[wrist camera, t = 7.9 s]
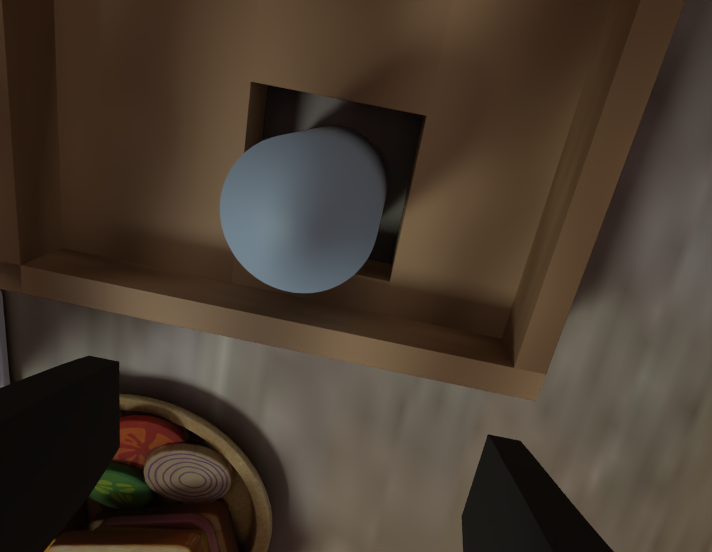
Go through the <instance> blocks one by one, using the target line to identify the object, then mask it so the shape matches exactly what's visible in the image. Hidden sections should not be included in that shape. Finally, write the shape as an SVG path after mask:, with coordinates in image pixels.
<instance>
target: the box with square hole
mask: <svg viewBox="0 0 712 552" xmlns="http://www.w3.org/2000/svg"><path fill="white" fill-rule="evenodd" d="M684 3H685V0H0V289H2V290H7V291H12V292H17V293H22V294H26V295H31V296H36V297H41V298H45V299H50V300H55V301H60V302H65V303H69V304H74V305H79V306H84V307H88V308H93V309H98V310H103V311H107V312H112V313H117V314H122V315H127V316H131V317H136V318H141V319H146V320H150V321H155V322H160V323H165V324H169V325H174V326H179V327H184V328H189V329H193V330H198V331H203V332H208V333H212V334H217V335H222V336H227V337H232V338H236V339H241V340H246V341H251V342H255V343H260V344H265V345H270V346H274V347H279V348H284V349H289V350H294V351H298V352H303V353H308V354H313V355H317V356H322V357H327V358H332V359H336V360H341V361H346V362H351V363H356V364H360V365H365V366H370V367H375V368H379V369H384V370H389V371H394V372H399V373H403V374H408V375H413V376H418V377H422V378H427V379H432V380H437V381H441V382H446V383H451V384H456V385H461V386H465V387H470V388H475V389H480V390H484V391H489V392H494V393H499V394H503V395H508V396H513V397H518V398H523V399H527V400H532V401H536V400H537V397H538V394H539V392H540V389H541V386H542V384H543V381H544V378H545V376H546V373H547V370H548V368H549V365H550V362H551V360H552V357H553V354H554V351H555V349H556V346H557V343H558V341H559V338H560V335H561V333H562V330H563V327H564V325H565V322H566V319H567V317H568V314H569V311H570V309H571V306H572V303H573V301H574V298H575V295H576V293H577V290H578V287H579V284H580V282H581V279H582V276H583V274H584V271H585V268H586V266H587V263H588V260H589V258H590V255H591V252H592V250H593V247H594V244H595V242H596V239H597V236H598V234H599V231H600V228H601V226H602V223H603V220H604V217H605V215H606V212H607V209H608V207H609V204H610V201H611V199H612V196H613V193H614V191H615V188H616V185H617V183H618V180H619V177H620V175H621V172H622V169H623V167H624V164H625V161H626V159H627V156H628V153H629V150H630V148H631V145H632V142H633V140H634V137H635V134H636V132H637V129H638V126H639V124H640V121H641V118H642V116H643V113H644V110H645V108H646V105H647V102H648V100H649V97H650V94H651V92H652V89H653V86H654V83H655V81H656V78H657V75H658V73H659V70H660V67H661V65H662V62H663V59H664V57H665V54H666V51H667V49H668V46H669V43H670V41H671V38H672V35H673V33H674V30H675V27H676V25H677V22H678V19H679V16H680V14H681V11H682V8H683V6H684ZM268 85H271V86H276V87H281V88H286V89H292V90H297V91H302V92H307V93H312V94H317V95H322V96H328V97H333V98H338V99H343V100H348V101H353V102H358V103H364V104H369V105H374V106H379V107H384V108H389V109H394V110H399V111H405V112H410V113H415V114H420V115H424V117H423V122H422V126H421V131H420V136H419V140H418V145H417V149H416V154H415V158H414V163H413V167H412V172H411V176H410V181H409V186H408V190H407V195H406V199H405V204H404V208H403V213H402V217H401V222H400V226H399V231H398V235H397V240H396V245H395V249H394V254H393V258H392V263H391V264H389V263H385V262H380V261H375V260H370V259H367V260H366V262H365V263H364V264H363V266H362V267H361V268H360V269H359V270H358V271H357V272H356V273H355V274H354V275H353V276H352V277H351V278H349V279H348V280H347V281H345V282H343V283H342V284H340V285H338V286H336V287H333V288H331V289H328V290H325V291H321V292H315V293H293V292H288V291H283V290H280V289H277V288H274V287H272V286H270V285H268V284H266V283H264V282H262V281H261V280H259V279H257V278H256V277H255V276H253V275H252V274H251V273H250V272H248V271H247V270H246V269H245V268H244V267H243V266H242V265H241V264H240V262H239V261H238V260H237V258H236V257H235V256H234V254H233V252H232V251H231V249H230V247H229V245H228V243H227V241H226V239H225V236H224V233H223V229H222V225H221V219H220V198H221V193H222V188H223V185H224V182H225V180H226V177H227V175H228V173H229V171H230V170H231V168H232V166H233V165H234V164H235V162H236V161H237V160H238V159H239V158H240V157H241V156H242V155H243V154H244V153H245V152H246V151H247V150H248V149H250V148H251V147H252V146H254V145H256V144H258V143H259V142H261V141H262V138H263V129H264V120H265V111H266V102H267V92H268Z"/></svg>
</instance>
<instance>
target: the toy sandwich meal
mask: <svg viewBox="0 0 712 552" xmlns="http://www.w3.org/2000/svg"><path fill="white" fill-rule="evenodd" d="M119 397H120V448H119V449H118V451H117V453H116V454H115V456H114V458H113V459H112V461H111V462H110V464H109V466H108V467H107V469H106V471H105V472H104V474H103V475H102V477H101V478H100V480H99V482H98V483H97V485H96V486H95V488H94V489H93V491H92V492H91V494H90V495H89V497H88V498H87V499H86V500H85V502H84V503H83V504H82V505H81V507H80V508H79V509H78V510H77V512H76V513H75V514H74V515H73V517H72V518H71V519H70V520H69V522H68V523H67V524H66V525H65V527H64V528H63V529H62V530H61V532H60V533H59V534H58V535H57V536H56V538H55V539H54V540H53V541H52V543H51V544H50V545H49V546H48V547H47V549H46V550H45V551H44V552H267V550H268V547H269V544H270V540H271V534H272V511H271V505H270V501H269V497H268V494H267V491H266V489H265V486H264V484H263V482H262V480H261V478H260V476H259V474H258V472H257V471H256V469H255V467H254V466H253V464H252V463H251V461H250V460H249V459H248V457H247V456H246V455H245V454H244V452H243V451H242V450H241V449H240V448H239V447H238V446H237V445H236V444H235V443H234V442H233V441H232V440H231V439H230V438H229V437H228V436H227V435H226V434H224V433H223V432H222V431H221V430H219V429H218V428H217V427H215V426H214V425H212V424H211V423H210V422H208V421H206V420H205V419H203V418H201V417H200V416H198V415H196V414H194V413H192V412H190V411H188V410H186V409H184V408H182V407H179V406H176V405H174V404H171V403H168V402H165V401H162V400H158V399H155V398H151V397H145V396H140V395H131V394H119Z"/></svg>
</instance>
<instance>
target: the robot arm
mask: <svg viewBox="0 0 712 552" xmlns="http://www.w3.org/2000/svg"><path fill="white" fill-rule="evenodd" d="M119 448H120V397H119V362H118V361H113V360H108V359H103V358H98V357H93V356H87V357H83V358H80V359H77V360H74V361H71V362H68V363H65V364H62V365H59V366H57V367H54V368H51V369H48V370H46V371H43V372H41V373H38V374H35V375H33V376H30V377H27V378H25V379H22V380H20V381H17V382H14V383H12V384H10V378H9V366H8V355H7V343H6V331H5V320H4V308H3V296H2V293H1V290H0V552H44V551H45V550H46V549H47V547H48V546H49V545H50V544H51V543H52V541H53V540H54V539H55V538H56V536H57V535H58V534H59V533H60V532H61V530H62V529H63V528H64V527H65V525H66V524H67V523H68V522H69V520H70V519H71V518H72V517H73V515H74V514H75V513H76V512H77V510H78V509H79V508H80V507H81V505H82V504H83V503H84V502H85V500H86V499H87V498H88V497H89V495H90V494H91V492H92V491H93V489H94V488H95V486H96V485H97V483H98V482H99V480H100V478H101V477H102V475H103V474H104V472H105V471H106V469H107V467H108V466H109V464H110V462H111V461H112V459H113V458H114V456H115V454H116V453H117V451H118V449H119ZM462 533H463V552H614V551H613V550H612V549H611V548H610V547H609V546H608V545H607V544H606V542H605V541H604V540H603V539H602V538H601V537H600V536H599V534H598V533H597V532H596V531H595V530H594V529H593V527H592V526H591V525H590V524H589V523H588V522H587V520H586V519H585V518H584V517H583V516H582V515H581V513H580V512H579V511H578V510H577V509H576V507H575V506H574V505H573V504H572V503H571V501H570V500H569V499H568V498H567V497H566V495H565V494H564V493H563V492H562V490H561V489H560V488H559V487H558V486H557V484H556V483H555V482H554V481H553V479H552V478H551V477H550V476H549V475H548V473H547V472H546V471H545V470H544V468H543V467H542V466H541V465H540V464H539V462H538V461H537V460H536V459H535V457H534V456H533V455H532V454H531V453H530V452H529V450H528V449H527V448H526V447H525V446H524V445H523V443H522V442H521V441H518V440H513V439H508V438H503V437H498V436H493V435H488V436H487V439H486V442H485V445H484V448H483V452H482V455H481V458H480V461H479V464H478V467H477V470H476V473H475V477H474V480H473V483H472V486H471V489H470V492H469V495H468V498H467V502H466V505H465V508H464V511H463V514H462Z"/></svg>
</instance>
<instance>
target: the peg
mask: <svg viewBox="0 0 712 552" xmlns="http://www.w3.org/2000/svg"><path fill="white" fill-rule="evenodd" d="M387 191H388V174H387V169H386V165H385V162H384V160H383V158H382V156H381V154H380V152H379V151H378V149H377V148H376V147H375V146H374V144H373V143H372V142H371V141H370V140H369V139H367V138H366V137H365V136H363V135H362V134H360V133H359V132H357V131H355V130H352V129H349V128H346V127H341V126H324V127H319V128H314V129H309V130H304V131H299V132H294V133H289V134H284V135H280V136H275V137H271V138H269V139H266V140H264V141H261V142H259V143H258V144H256V145H254V146H252V147H251V148H250V149H248V150H247V151H246V152H245V153H244V154H243V155H242V156H241V157H240V158H239V159H238V160H237V161H236V162H235V164H234V165H233V166H232V168H231V170H230V171H229V173H228V175H227V177H226V180H225V182H224V185H223V188H222V193H221V198H220V219H221V225H222V229H223V233H224V236H225V239H226V241H227V243H228V245H229V247H230V249H231V251H232V252H233V254H234V256H235V257H236V258H237V260H238V261H239V262H240V264H241V265H242V266H243V267H244V268H245V269H246V270H247V271H248V272H250V273H251V274H252V275H253V276H255V277H256V278H257V279H259V280H261V281H262V282H264V283H266V284H268V285H270V286H272V287H274V288H277V289H280V290H283V291H288V292H293V293H315V292H321V291H325V290H328V289H331V288H333V287H336V286H338V285H340V284H342V283H343V282H345V281H347V280H348V279H349V278H351V277H352V276H353V275H354V274H355V273H356V272H357V271H358V270H359V269H360V268H361V267H362V266H363V264H364V263H365V262H366V260H367V259H368V257H369V255H370V253H371V251H372V249H373V247H374V244H375V241H376V237H377V233H378V229H379V225H380V221H381V217H382V213H383V208H384V204H385V200H386V196H387Z"/></svg>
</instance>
